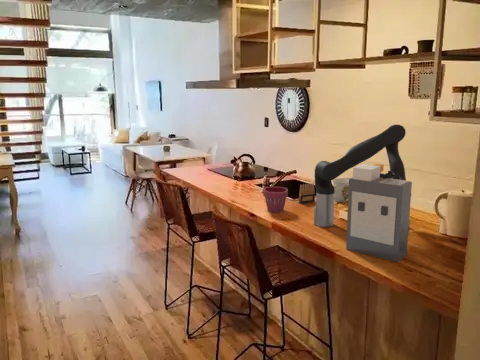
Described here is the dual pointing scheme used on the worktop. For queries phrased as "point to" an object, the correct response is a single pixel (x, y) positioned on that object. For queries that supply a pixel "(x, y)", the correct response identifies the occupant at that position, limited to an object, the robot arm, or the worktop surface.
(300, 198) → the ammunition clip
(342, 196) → the pitcher
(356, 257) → the worktop surface
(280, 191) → the plant pot
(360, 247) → the box
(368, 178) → the block
